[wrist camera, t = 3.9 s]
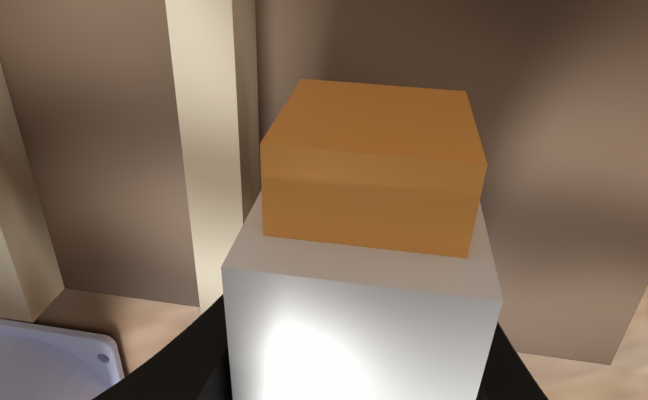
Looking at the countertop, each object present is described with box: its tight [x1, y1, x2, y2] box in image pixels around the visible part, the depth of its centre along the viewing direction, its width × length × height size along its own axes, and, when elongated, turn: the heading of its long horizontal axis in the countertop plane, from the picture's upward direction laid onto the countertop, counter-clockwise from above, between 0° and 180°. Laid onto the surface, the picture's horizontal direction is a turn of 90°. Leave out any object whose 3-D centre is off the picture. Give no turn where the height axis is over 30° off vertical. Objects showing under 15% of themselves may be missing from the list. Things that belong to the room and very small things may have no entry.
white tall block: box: [221, 79, 503, 400], centre depth 11 cm, size 10×4×5 cm, turn 178°
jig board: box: [0, 0, 648, 365], centre depth 14 cm, size 12×22×3 cm, turn 88°
